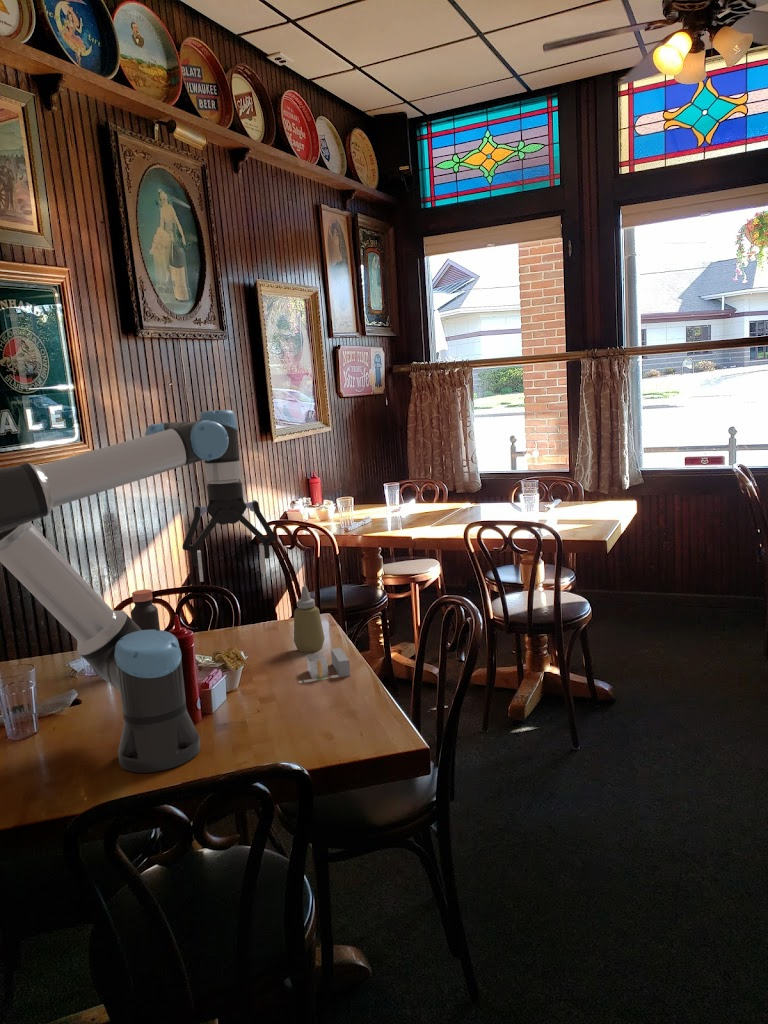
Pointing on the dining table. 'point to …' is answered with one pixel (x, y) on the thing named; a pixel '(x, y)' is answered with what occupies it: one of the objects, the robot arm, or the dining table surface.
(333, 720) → the dining table surface
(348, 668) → the rail
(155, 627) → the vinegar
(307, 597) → the squeeze bottle
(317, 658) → the gauge carriage
